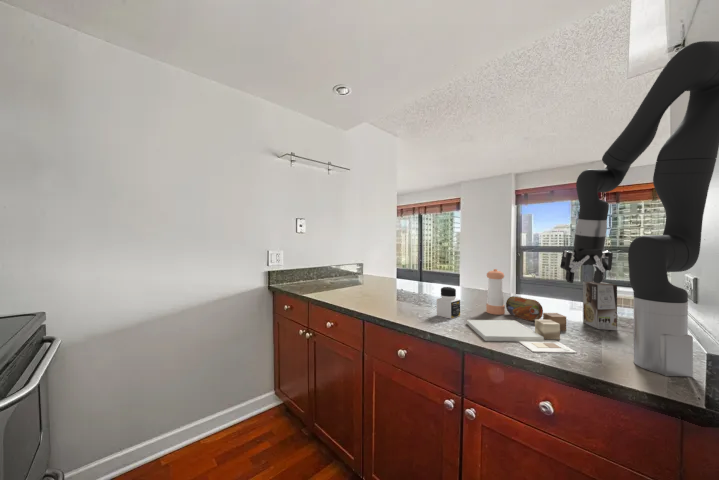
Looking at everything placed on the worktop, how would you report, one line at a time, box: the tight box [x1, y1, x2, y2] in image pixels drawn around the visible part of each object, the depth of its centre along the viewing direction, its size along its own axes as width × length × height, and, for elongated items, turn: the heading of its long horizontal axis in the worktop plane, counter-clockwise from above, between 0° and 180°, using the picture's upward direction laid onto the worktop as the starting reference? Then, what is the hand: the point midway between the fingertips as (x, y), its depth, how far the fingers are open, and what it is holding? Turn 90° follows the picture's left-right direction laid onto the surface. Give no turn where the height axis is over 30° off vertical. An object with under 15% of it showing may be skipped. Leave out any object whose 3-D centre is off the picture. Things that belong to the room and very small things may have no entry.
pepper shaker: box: [485, 268, 506, 316], centre depth 122 cm, size 7×7×19 cm
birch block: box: [534, 319, 561, 340], centre depth 92 cm, size 5×5×5 cm
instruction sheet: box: [517, 339, 578, 354], centre depth 84 cm, size 9×12×1 cm
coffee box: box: [582, 281, 618, 331], centre depth 103 cm, size 9×6×16 cm
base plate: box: [466, 319, 545, 342], centre depth 97 cm, size 18×18×2 cm
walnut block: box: [542, 312, 567, 332], centre depth 101 cm, size 5×5×5 cm
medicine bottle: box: [436, 286, 461, 320], centre depth 118 cm, size 7×7×12 cm
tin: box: [505, 296, 544, 322], centre depth 114 cm, size 15×3×8 cm, turn 21°
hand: (583, 282), depth 91 cm, fingers open, 8 cm apart
